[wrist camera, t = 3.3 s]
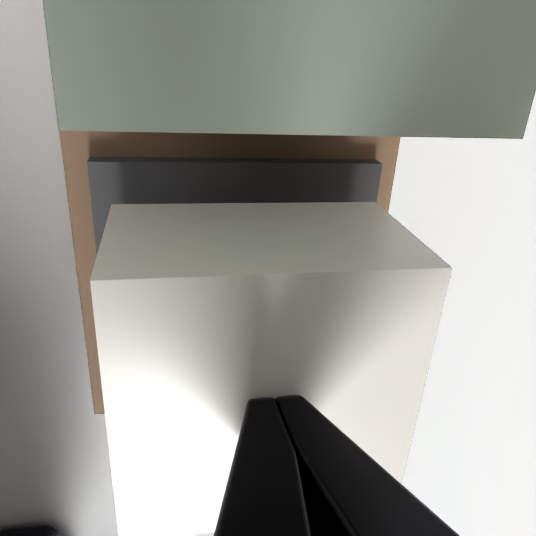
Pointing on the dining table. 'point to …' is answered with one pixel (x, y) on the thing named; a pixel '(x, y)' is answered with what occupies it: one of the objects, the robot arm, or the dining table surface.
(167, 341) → the key white
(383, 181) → the key panel
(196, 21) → the key sage
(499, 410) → the dining table surface
